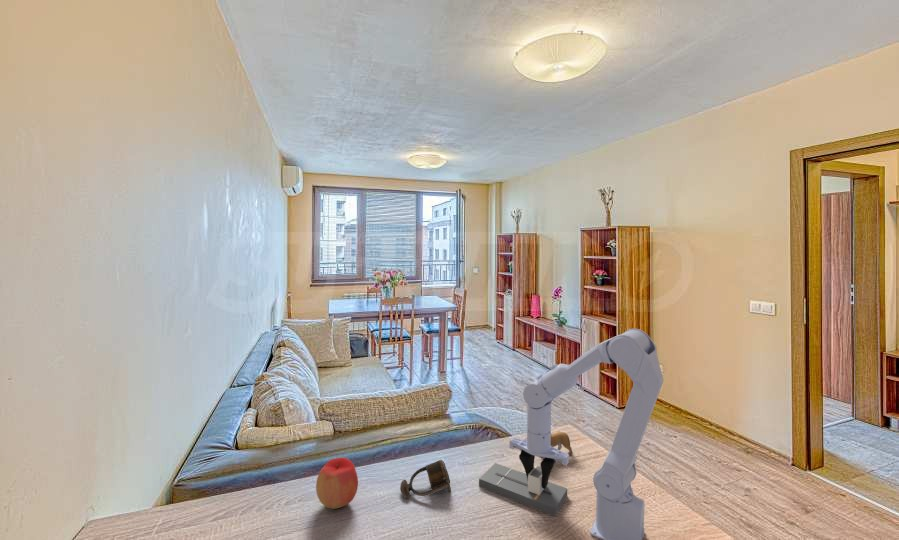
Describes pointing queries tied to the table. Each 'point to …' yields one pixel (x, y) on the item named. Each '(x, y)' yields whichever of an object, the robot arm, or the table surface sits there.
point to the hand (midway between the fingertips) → (537, 483)
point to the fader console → (522, 489)
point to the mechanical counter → (436, 478)
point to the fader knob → (535, 480)
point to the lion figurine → (561, 441)
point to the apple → (337, 483)
